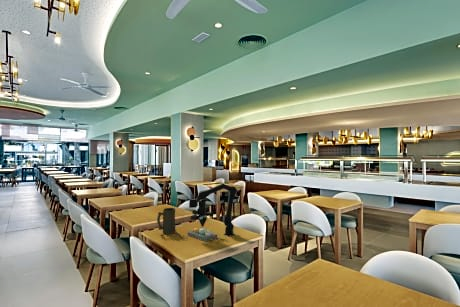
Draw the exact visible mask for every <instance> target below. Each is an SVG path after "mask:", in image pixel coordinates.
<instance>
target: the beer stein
mask: <svg viewBox="0 0 460 307" xmlns="http://www.w3.org/2000/svg"><path fill="white" fill-rule="evenodd" d="M161 216H162V224H161ZM156 222H157V225H158V231H161V230H162V234H164V235H172V234H175V233H176V232H177V230H176V208H175V207H166V208H163V210H162V212H161V211H159V212H158V214H157V217H156Z"/></svg>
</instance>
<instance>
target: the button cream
mask: <svg viewBox="0 0 460 307" xmlns="http://www.w3.org/2000/svg"><path fill="white" fill-rule="evenodd" d="M211 233H212V230H208V229H207V230H205V236H207V237H209V236H211Z"/></svg>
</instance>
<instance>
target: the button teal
mask: <svg viewBox="0 0 460 307" xmlns="http://www.w3.org/2000/svg"><path fill="white" fill-rule="evenodd" d="M205 231H206V229H205V228H200V229H199V234H201V235H203V234H205Z"/></svg>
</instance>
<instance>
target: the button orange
mask: <svg viewBox="0 0 460 307" xmlns="http://www.w3.org/2000/svg"><path fill="white" fill-rule="evenodd" d="M199 229H201V228H199V227H195V228H194V227H193V230H194V232H195V233H198V232H199Z"/></svg>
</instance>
